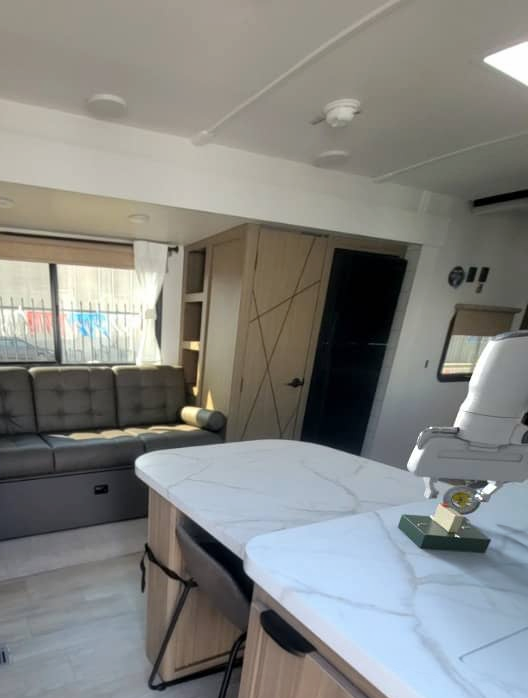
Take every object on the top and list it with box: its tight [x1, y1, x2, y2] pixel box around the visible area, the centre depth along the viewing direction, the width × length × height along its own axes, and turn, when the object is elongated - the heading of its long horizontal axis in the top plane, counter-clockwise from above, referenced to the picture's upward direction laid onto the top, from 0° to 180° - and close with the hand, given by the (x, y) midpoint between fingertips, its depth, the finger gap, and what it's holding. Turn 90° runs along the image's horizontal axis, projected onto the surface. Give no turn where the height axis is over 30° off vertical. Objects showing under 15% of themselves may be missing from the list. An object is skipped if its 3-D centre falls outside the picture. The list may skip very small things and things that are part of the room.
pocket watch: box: [433, 479, 482, 525], centre depth 88 cm, size 8×8×10 cm
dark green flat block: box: [397, 513, 492, 554], centre depth 81 cm, size 12×10×3 cm
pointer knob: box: [433, 502, 465, 533], centre depth 79 cm, size 6×2×4 cm, turn 176°
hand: (455, 499), depth 78 cm, fingers open, 8 cm apart
